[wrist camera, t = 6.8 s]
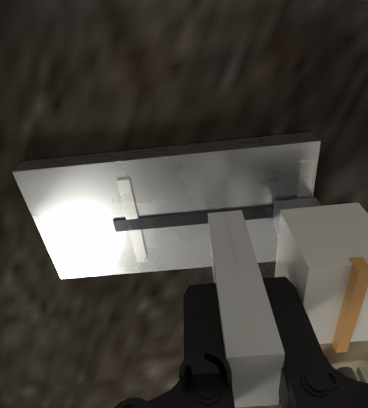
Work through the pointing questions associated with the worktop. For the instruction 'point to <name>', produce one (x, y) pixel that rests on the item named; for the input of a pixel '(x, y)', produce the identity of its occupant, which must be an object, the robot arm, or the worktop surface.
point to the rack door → (362, 373)
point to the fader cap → (326, 265)
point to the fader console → (162, 201)
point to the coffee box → (270, 407)
